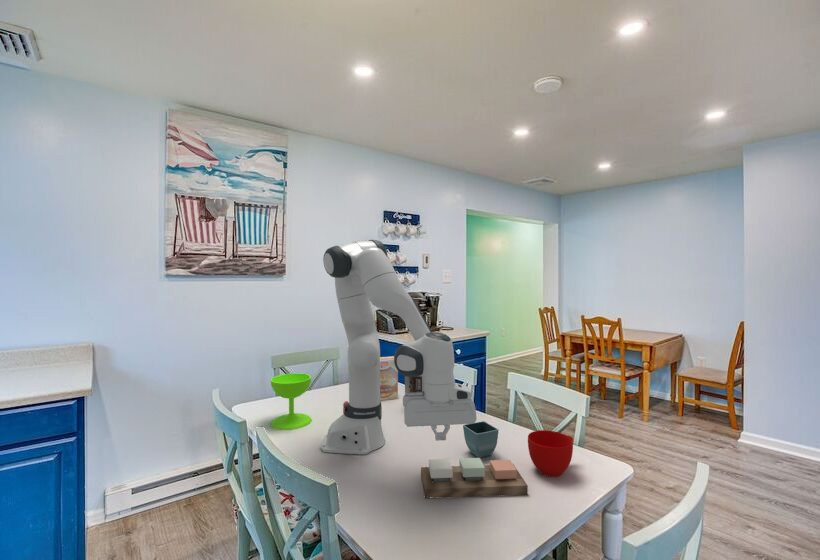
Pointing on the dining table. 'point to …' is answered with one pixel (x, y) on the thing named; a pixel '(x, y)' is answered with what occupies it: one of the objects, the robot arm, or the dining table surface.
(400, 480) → the dining table surface
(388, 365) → the coffeecake box
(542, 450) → the ceramic cup
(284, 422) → the wineglass
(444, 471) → the white square block
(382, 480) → the dining table surface
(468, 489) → the button board
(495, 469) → the pink square block
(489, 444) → the flower pot
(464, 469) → the sage tile
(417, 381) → the coffee box
